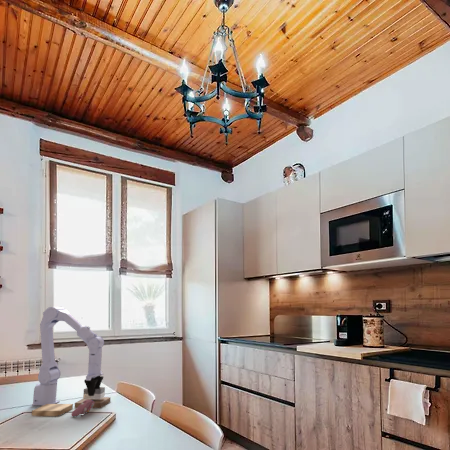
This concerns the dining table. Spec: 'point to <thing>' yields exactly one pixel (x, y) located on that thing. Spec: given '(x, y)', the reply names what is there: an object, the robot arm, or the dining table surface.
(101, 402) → the walnut stand
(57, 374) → the robot arm
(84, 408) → the video game controller
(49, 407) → the oak stand
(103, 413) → the dining table surface
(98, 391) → the grey rectangular block
